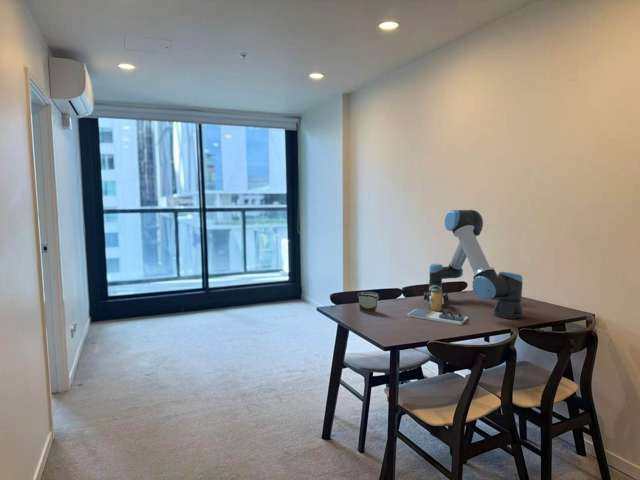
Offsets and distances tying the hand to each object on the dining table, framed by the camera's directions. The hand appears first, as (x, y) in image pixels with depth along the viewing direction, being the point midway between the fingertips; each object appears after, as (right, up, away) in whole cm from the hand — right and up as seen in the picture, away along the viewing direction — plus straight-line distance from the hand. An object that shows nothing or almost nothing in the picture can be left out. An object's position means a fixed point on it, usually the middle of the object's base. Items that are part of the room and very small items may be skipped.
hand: (436, 301), depth 240 cm
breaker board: (-2, -7, -11) cm, 13 cm away
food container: (-36, -6, +2) cm, 37 cm away
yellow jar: (+1, -6, +6) cm, 8 cm away
